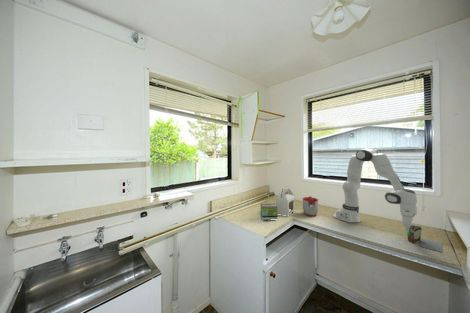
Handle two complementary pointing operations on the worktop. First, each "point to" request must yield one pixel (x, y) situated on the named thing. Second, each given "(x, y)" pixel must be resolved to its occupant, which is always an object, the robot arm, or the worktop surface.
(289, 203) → the gable box
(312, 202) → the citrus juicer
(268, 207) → the tea box
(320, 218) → the worktop surface
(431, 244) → the mat
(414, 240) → the food container
